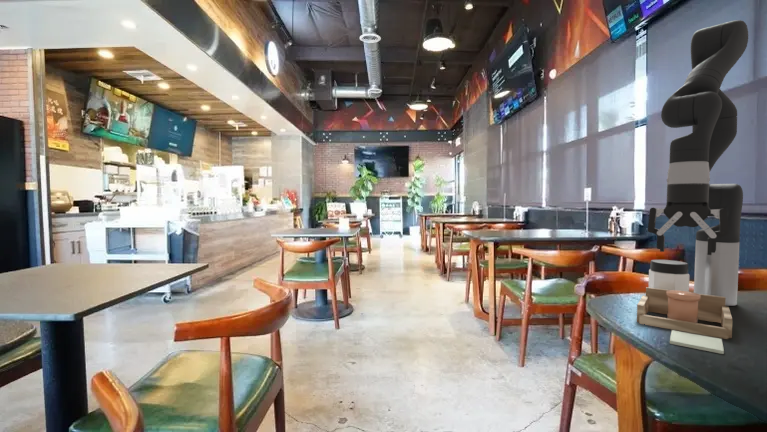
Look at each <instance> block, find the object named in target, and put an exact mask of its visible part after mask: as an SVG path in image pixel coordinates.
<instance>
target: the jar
mask: <svg viewBox="0 0 767 432" xmlns="http://www.w3.org/2000/svg"><path fill="white" fill-rule="evenodd" d="M690 275H691V274H689V263H687V262H684V261H679V260H669V259H651V260H650V268H649V269H648V287H649V288H657V289H665V290H679V291H687V292H690Z"/></svg>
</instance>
